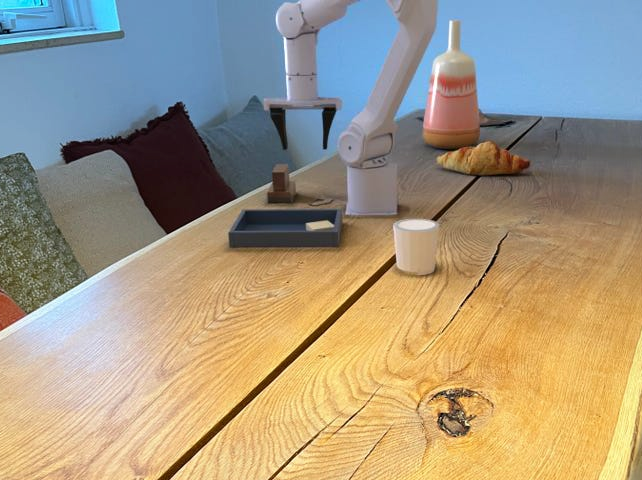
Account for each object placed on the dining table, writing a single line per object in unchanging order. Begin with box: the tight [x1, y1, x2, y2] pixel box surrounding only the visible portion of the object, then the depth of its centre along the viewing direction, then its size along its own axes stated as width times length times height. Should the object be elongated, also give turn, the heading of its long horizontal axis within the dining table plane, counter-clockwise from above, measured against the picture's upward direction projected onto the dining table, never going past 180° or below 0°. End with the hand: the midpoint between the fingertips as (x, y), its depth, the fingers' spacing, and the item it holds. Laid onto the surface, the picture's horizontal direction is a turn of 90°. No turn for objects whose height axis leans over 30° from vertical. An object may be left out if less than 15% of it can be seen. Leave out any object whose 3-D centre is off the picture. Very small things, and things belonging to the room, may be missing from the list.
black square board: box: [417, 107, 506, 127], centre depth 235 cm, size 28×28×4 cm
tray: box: [227, 208, 344, 249], centre depth 134 cm, size 18×14×3 cm
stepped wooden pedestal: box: [266, 163, 297, 205], centre depth 156 cm, size 4×9×6 cm, turn 0°
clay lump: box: [306, 220, 334, 231], centre depth 135 cm, size 4×4×1 cm
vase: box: [422, 19, 481, 150], centre depth 196 cm, size 14×14×30 cm
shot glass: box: [392, 218, 440, 277], centre depth 119 cm, size 7×7×7 cm
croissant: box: [436, 140, 531, 176], centre depth 176 cm, size 21×10×8 cm, turn 72°
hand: (305, 148), depth 153 cm, fingers open, 7 cm apart
